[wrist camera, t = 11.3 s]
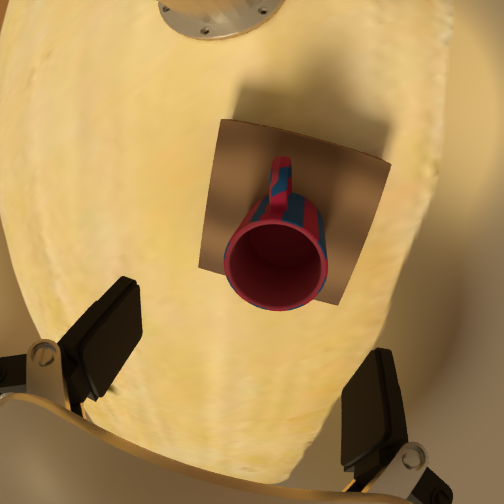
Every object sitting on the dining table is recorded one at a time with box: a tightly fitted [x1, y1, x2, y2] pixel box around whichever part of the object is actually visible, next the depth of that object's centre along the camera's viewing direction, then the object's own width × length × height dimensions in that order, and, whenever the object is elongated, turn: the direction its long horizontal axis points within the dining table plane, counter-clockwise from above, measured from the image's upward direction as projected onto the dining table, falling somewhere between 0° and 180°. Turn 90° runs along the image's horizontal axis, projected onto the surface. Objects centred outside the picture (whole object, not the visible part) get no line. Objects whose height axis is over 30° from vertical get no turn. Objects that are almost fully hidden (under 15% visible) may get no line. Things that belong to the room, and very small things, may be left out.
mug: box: [223, 155, 328, 311], centre depth 20 cm, size 7×10×7 cm
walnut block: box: [198, 119, 391, 306], centre depth 25 cm, size 14×14×4 cm
